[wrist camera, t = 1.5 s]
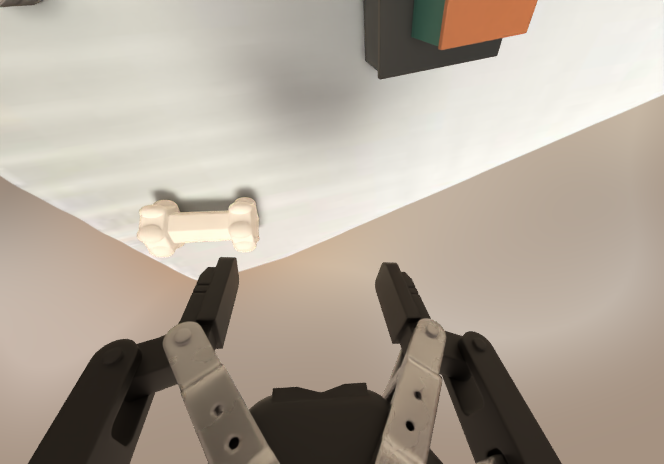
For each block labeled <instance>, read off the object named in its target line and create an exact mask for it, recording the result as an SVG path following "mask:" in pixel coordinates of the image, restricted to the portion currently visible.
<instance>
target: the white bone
mask: <svg viewBox="0 0 664 464" xmlns="http://www.w3.org/2000/svg"><path fill="white" fill-rule="evenodd" d="M139 214H140V223H139V231H138V232H137V238H138V239H139V240H140V241H141V242H143V243H144V244H145V245H146V247H147V248H148V250H149V253H150V254H151V255H153V256H155V257H169V256H171V255H173V254H174V252H175V250H176V249H177V248H180V247H182V246H183V245H184V244H185V243H188V242H206V241H224V240H232V242H233V246H234V248H235V249H236V250H237V251H239V252H250V251H253V250H254V249H255V248H256V245H257V244H256V243H257V242H258V241H259V229H258V222H259V217H258V214H257V209H256V202H255V201H254V200H253V199H251V198H248V197H242V198H238V199H237V200H235V202H234V203H232V204H231V205H230V206H229V211H205V212H180V210H179V208H178V206H177V204H176V203H174V202H173V201H170V200H159V201H156V202H155V203H154V204H153V205H147V206H144V207H142V208H141V209H140V210H139Z"/></svg>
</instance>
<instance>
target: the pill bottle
mask: <svg viewBox="0 0 664 464" xmlns="http://www.w3.org/2000/svg"><path fill="white" fill-rule="evenodd" d="M41 1H42V0H0V7H10V6H26V5H35V4H37V3H39V2H41Z"/></svg>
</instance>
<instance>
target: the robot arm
mask: <svg viewBox="0 0 664 464" xmlns="http://www.w3.org/2000/svg"><path fill="white" fill-rule="evenodd" d="M238 285H239V275H238V267H237V260H236V258H233V257H220V258H219V260H218V263H217V266H216V267H208V268H207V269H206V270H205V271H204V272H203V273H202V274H201V275H200V277H199V279H198V282H197V285H196V286H195V288H194V290H193V293H192V295H191V297H190V300H189V302H188V304H187V306H186V309H185V311H184V313H183V316H182V318H181V320H180V322H179V324H178V325H176V326H174V327H173V328H172V329H171V330H169V331H168V333H167V334H166V335H164V336H162V337H159V338H156V339H153V340H149V341H146V342H142V343H139V344H136V343H135V342H134V341H132V340H129V339H121V340H116V341H114V342H111V343H109V344H107V345H105V346H104V347H102V348H101V349H100V350H99V351H97V352H96V353H95V355H94V356H93V357H92V358H91V360H90V362H89V363H88V365H87V367H86V368H85V370H84V371H83V373H82V375H81V376H80V378H79V380H78V381H77V383H76V385H75V387H74V388H73V390H72V391H71V393H70V395H69V397H68V398H67V400H66V402H65V403H64V405H63V406H62V408H61V410H60V411H59V413H58V415H57V416H56V418H55V420H54V421H53V423H52V425H51V426H50V428H49V429H48V431H47V433H46V434H45V436H44V438H43V440H42V441H41V443H40V444H39V446H38V448H37V450H36V451H35V453H34V455H33V456H32V458H31V459H30V461H29V463H28V464H130V461H131V458H132V456H133V452H134V450H135V447H136V444H137V442H138V439H139V436H140V433H141V430H142V428H143V425H144V422H145V420H146V417H147V414H148V411H149V408H150V406H151V403H152V400H153V397H154V395H155V392H157V391H160V390H163V389H165V388H168V387H171V386H173V385H176V384H178V385H179V388H180V390H181V396H182V398H183V401H184V403H185V406H186V408H187V411H188V413H189V416H190V418H191V421H192V423H193V426H194V428H195V431H196V433H197V436H198V438H199V441H200V443H201V446H202V448H203V451H204V453H205V456H206V458H207V461H208V464H443V463H442V462H441V461H440V460H439V459H438V457H437V456H436V455H435V454H434V453H433V451H431V449H430V444H431V438H432V433H433V428H434V423H435V417H436V412H437V407H438V402H439V396H440V391H441V386H442V377H441V376H440V375H439V374H441V375H442V376H443V379H444V382H445V384H446V387H447V389H448V392H449V395H450V397H451V400H452V402H453V405H454V408H455V410H456V413H457V416H458V418H459V421H460V423H461V426H462V429H463V431H464V434H465V436H466V439H467V442H468V444H469V447H470V450H471V452H472V455H473V457H474V460H475V463H476V464H561V462H560V460H559V458H558V457H557V455H556V453H555V451H554V450H553V449H552V446H551V445H550V443H549V441H548V440H547V438H546V436H545V434H544V433H543V431H542V429H541V428H540V426H539V424H538V423H537V421H536V419H535V418H534V416H533V414H532V413H531V411H530V409H529V407H528V406H527V404H526V402H525V401H524V399H523V397H522V396H521V394H520V392H519V391H518V389H517V387H516V385H515V384H514V382H513V380H512V379H511V377H510V375H509V374H508V372H507V370H506V368H505V367H504V365H503V363H502V362H501V360H500V358H499V357H498V355H497V353H496V351H495V350H494V348H493V346H492V345H491V343H490V342H489V341H488V340H487V339H486V338H485V337H484V336H482V335H480V334H479V333H476V332H472V331H469V332H466V333H465V334H464V335H463V336H460V335H456V334H453V333H450V332H447V331H444V329H443V328H442V326H441V325H440V324H438V323H437V322H436V321H434V320H432V319H431V318H430V316H429V314H428V312H427V310H426V308H425V306H424V304H423V302H422V300H421V297H420V295H418V291H417V289H416V288H415V285H414V283H413V281H412V279H411V278H410V277H409V276H408V275H407V274H406V273H405V272H401V271H400V269H399V266H398V265H397V263H386V262H383V263H382V265H381V268H380V270H379V273H378V276H377V278H376V282H375V288H376V293H377V296H378V299H379V302H380V305H381V308H382V312H383V315H384V318H385V321H386V324H387V328H388V331H389V334H390V337H391V340H392V343H393V344H400V345H401V348H402V349H401V350H400V353H399V355H398V358H397V361H396V363H395V366H394V369H393V372H392V374H391V377H390V380H389V382H388V384H387V386H386V388H385V390H384V393H383V395H382V396H381V395H379V394H377V393H375V392H373V391H370V390H367V385H366V383H353V384H343V385H341V386H338V387H335V388H333V389H330V390H327V391H325V392H316V391H312V390H308V389H303V388H299V387H289V388H273V393H272V395H271V396H269V397H266V398H264V399H263V400H261V401H259V402H258V403H256V404H255V405H254V406H253V407H251V408H250V409H248V408H247V406H246V404H245V402H244V400H243V399H242V397H241V395H240V393H239V391H238V389H237V388H236V386H235V384H234V382H233V380H232V379H231V377H230V375H229V373H228V371H227V370H226V368H225V366H224V365H223V364H222V363H221V362H220V360H219V358H218V357H217V355H216V353H215V349H221V348H223V345H224V341H225V337H226V333H227V329H228V325H229V322H230V318H231V314H232V310H233V306H234V302H235V298H236V294H237V290H238Z"/></svg>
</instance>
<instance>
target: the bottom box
mask: <svg viewBox="0 0 664 464" xmlns="http://www.w3.org/2000/svg"><path fill="white" fill-rule="evenodd" d="M413 9H414V0H364V28H365V60H366V62H368V63H369V64H370V65H371V66H373V67H374V68H375V69H376V70H377V71H378V78H379V79H385V78H390V77H395V76H400V75H405V74H410V73H415V72H420V71H425V70H430V69H435V68H439V67H444V66H449V65H454V64H459V63H464V62H469V61H474V60H479V59H484V58H489V57H494V56H497V55H498V51H499V48H500V45H501V41H502V38H499V39H494V40H489V41H484V42H479V43H475V44H470V45H465V46H460V47H455V48H450V49H445V50H439V49H438V46H435V45H432V44H430V43H427V42H424V41H421V40H418V39H415V38H413V37H411V34H412V21H413Z"/></svg>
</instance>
